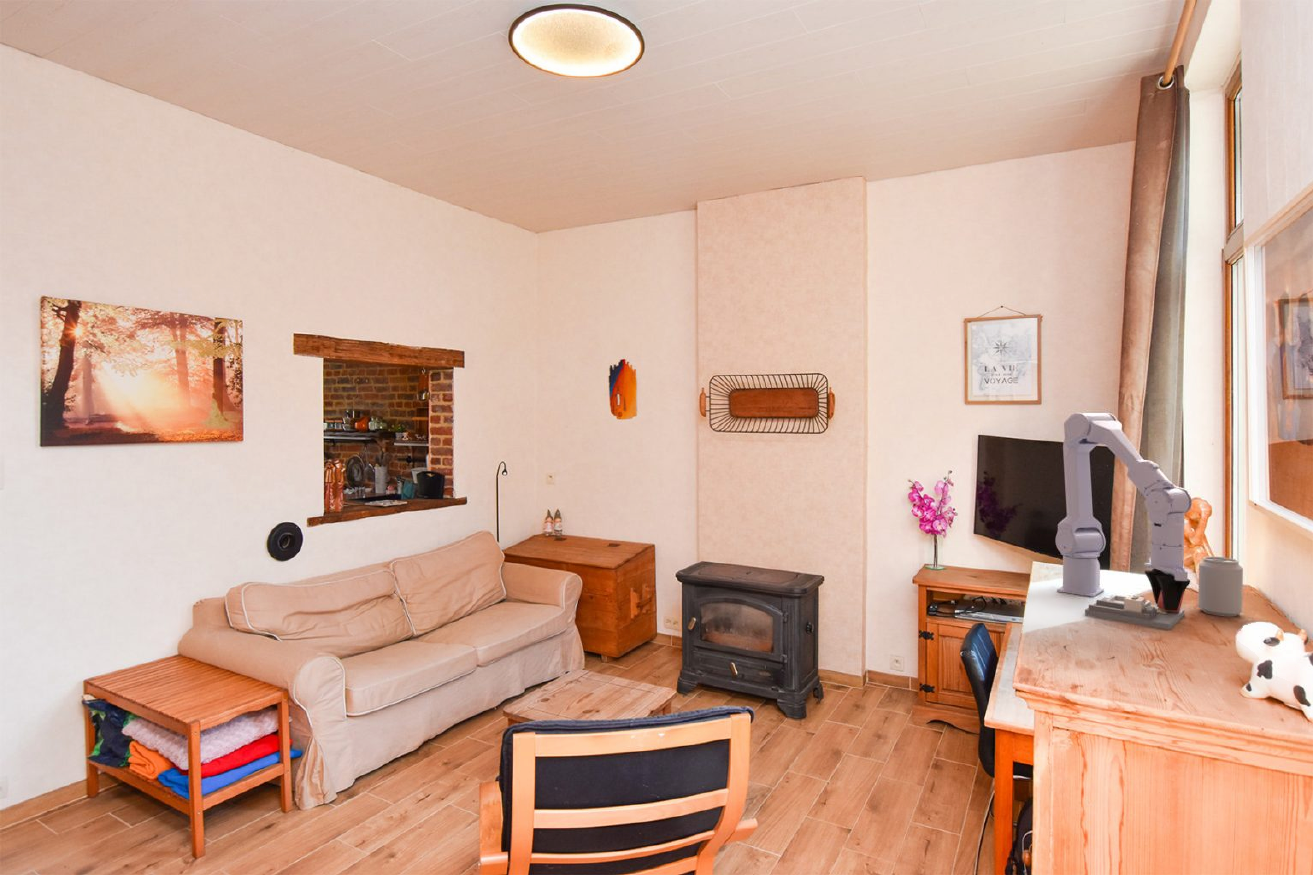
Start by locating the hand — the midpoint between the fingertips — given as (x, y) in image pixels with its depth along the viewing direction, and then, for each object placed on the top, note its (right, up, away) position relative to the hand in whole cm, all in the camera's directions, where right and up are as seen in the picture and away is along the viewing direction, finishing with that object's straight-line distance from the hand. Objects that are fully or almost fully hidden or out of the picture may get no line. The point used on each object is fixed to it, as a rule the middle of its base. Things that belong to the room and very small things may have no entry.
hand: (1166, 607), depth 151 cm
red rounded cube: (0, 0, 0) cm, 0 cm away
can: (+14, -2, +3) cm, 14 cm away
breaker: (-8, -1, -2) cm, 8 cm away
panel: (-6, -2, +1) cm, 6 cm away
